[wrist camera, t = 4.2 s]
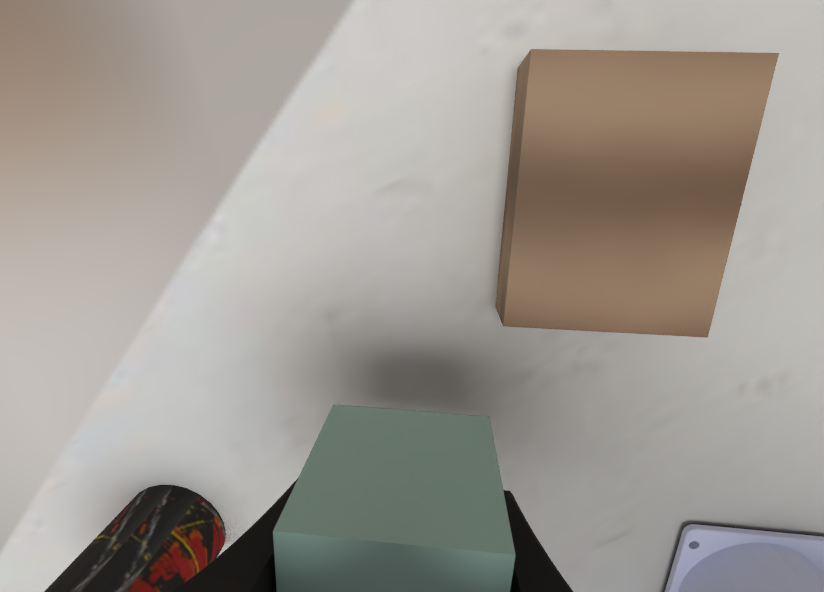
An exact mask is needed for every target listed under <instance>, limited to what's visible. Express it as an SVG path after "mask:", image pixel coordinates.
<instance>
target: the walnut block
mask: <svg viewBox="0 0 824 592" xmlns="http://www.w3.org/2000/svg"><path fill="white" fill-rule="evenodd" d="M778 54H779V53H734V52H669V51H605V50H541V49H531V50H530V52H529V53H528V54H527V56H526V57H525V59H524V60H523V62H522V63H521V64H520V66H519V67H518V71H517V82H516V93H515V104H514V114H513V125H512V136H511V146H510V157H509V168H508V179H507V189H506V200H505V211H504V222H503V232H502V243H501V254H500V264H499V275H498V286H497V297H496V309H497V312H498V314H499V317H500V319H501V322H502V324H503V326H509V327H527V328H545V329H564V330H582V331H600V332H619V333H637V334H656V335H674V336H692V337H708V334H709V330H710V326H711V322H712V318H713V314H714V310H715V306H716V302H717V298H718V294H719V290H720V286H721V282H722V278H723V274H724V270H725V266H726V262H727V258H728V254H729V250H730V246H731V242H732V238H733V234H734V230H735V226H736V222H737V218H738V214H739V210H740V206H741V202H742V198H743V194H744V190H745V186H746V182H747V178H748V174H749V170H750V166H751V162H752V158H753V154H754V150H755V146H756V142H757V138H758V134H759V130H760V126H761V122H762V118H763V114H764V110H765V106H766V102H767V98H768V94H769V90H770V86H771V82H772V78H773V74H774V70H775V66H776V62H777V58H778Z"/></svg>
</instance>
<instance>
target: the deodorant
mask: <svg viewBox="0 0 824 592" xmlns="http://www.w3.org/2000/svg"><path fill="white" fill-rule="evenodd" d="M225 535H226V534H225V529H224V523H223V521H222V519H221V517H220V515H219V513H218V512H217V511H216V510H215V508H214V507H213V506H212V505H211V504H210V503H209V502H208V501H207V500H205V499H204V498H203V497H201V496H200V495H198V494H196V493H194V492H192V491H190V490H188V489H185V488H181V487H177V486H172V485H159V486H154V487H149V488H147V489H145V490H143V491H142V492H140V493H139V494H138V495H137V496H136V497H135V498H134V499H133V500H132V501H131V502H130V503H129V504H128V505H127V506H126V507H125V508H124V509H123V510H122V511H121V512H120V513H119V514H118V515H117V517H116V518H115V519H114V520H113V521H112V522H111V523H110V524H109V525H108V526H107V527H106V528H105V529H104V530H103V531H102V532H101V533H100V534H99V535H98V536H97V537H96V538H95V539H94V540H93V542H92V543H91V544H90V545H89V546H88V547H87V548H86V549H85V550H84V551H83V552H82V553H81V554H80V555H79V556H78V557H77V558H76V559H75V560H74V561H73V562H72V563H71V564H70V566H69V567H68V568H67V569H66V570H65V571H64V572H63V573H62V574H61V575H60V576H59V577H58V578H57V579H56V580H55V581H54V582H53V583H52V584H51V585H50V586H49V587H48V588H47V590H46V591H45V592H172V591H174V590H175V589H177V588H178V587H179V586H181V585H182V584H184V583H185V582H186V581H188V580H189V579H190V578H192V577H193V576H194V575H196V574H197V573H198V572H200V571H201V570H202V569H203V568H205V567H206V566H207V565H208V564H210V563H211V562H212V561H213V560H215V559H216V558H217V556H218V554H219V553H220V551H221V549H222V547H223V545H224V541H225Z"/></svg>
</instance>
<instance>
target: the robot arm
mask: <svg viewBox="0 0 824 592" xmlns="http://www.w3.org/2000/svg"><path fill="white" fill-rule="evenodd" d="M297 480H298V479H297ZM297 480H296V481H295V482H294V483H293V484H292V485H291V486H290V488H289V489H288V490H287V491H286V492H285V493H284V494H283V495H282V496H281V497H280V498H279V499H278V500H277V502H276V503H275V504H274V505H273V506H272V507H271V508H270V509H269V510H268V511H267V512H266V513H265V514H264V515H263V516H262V517H261V518H260V519H259V520H258V521H257V522H256V523H255V524H254V525H253V526H252V527H251V528H250V529H248V530H247V531H246V532H245V533H244V534H243V535H242V536H241V537H240V538H239V539H238V540H236V541H235V542H234V543H233V544H232V545H231V546H230V547H229V548H228V549H227V550H225V551H224V552H223V553H222V554H221V555H219V556H218V557H217V558H216V559H215V560H213V561H212V562H211V563H210V564H208V565H207V566H206V567H205V568H203V569H202V570H201V571H200V572H198V573H197V574H196V575H194V576H193V577H192V578H190V579H189V580H188V581H186V582H185V583H184V584H182V585H181V586H179V587H178V588H177V589H175V590H174V591H172V592H277V589H276V573H275V557H274V542H273V530H274V528H275V526H276V524H277V522H278V519H279V517H280V515H281V513H282V511H283V509H284V507H285V505H286V503H287V501H288V499H289V497H290V494H291V492H292V490H293V488H294V486H295V484H296V482H297ZM503 491H504V497H505V502H506V507H507V513H508V518H509V523H510V528H511V534H512V539H513V544H514V549H515V562H514V569H513V576H512V582H511V589H510V592H573V591H572V589H571V588H570V587H569V585H568V584H567V582H566V581H565V580H564V578H563V577H562V575H561V574H560V573H559V571H558V570H557V568H556V567H555V565H554V564H553V562H552V561H551V560H550V558H549V557H548V555H547V553H546V552H545V550H544V549H543V547H542V546H541V544H540V542H539V541H538V539H537V538H536V536H535V534H534V533H533V531H532V529H531V528H530V526H529V524H528V522H527V521H526V519H525V517H524V515H523V513H522V512H521V510H520V508H519V506H518V504H517V502H516V500H515V498H514V496H513V494H512V493H511V492H510V491H505V490H503ZM692 541H693V542H692ZM690 542H691V543H690ZM665 592H824V537H822V536H811V535H801V534H790V533H780V532H770V531H759V530H749V529H739V528H728V527H718V526H708V525H697V524H690V525H688V526H686V527H685V528H684V529H683V531H682V535H681V538H680V542H679V545H678V548H677V552H676V555H675V559H674V562H673V565H672V569H671V572H670V575H669V579H668V582H667V586H666V589H665Z"/></svg>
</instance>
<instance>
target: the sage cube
mask: <svg viewBox="0 0 824 592" xmlns="http://www.w3.org/2000/svg"><path fill="white" fill-rule="evenodd" d="M273 542H274V557H275V573H276V589H277V592H510V589H511V582H512V576H513V569H514V562H515V549H514V544H513V539H512V534H511V528H510V523H509V518H508V513H507V507H506V502H505V497H504V491H503V486H502V481H501V476H500V470H499V465H498V460H497V455H496V449H495V444H494V439H493V434H492V428H491V423H490V418H489V417H487V416H474V415H461V414H449V413H436V412H423V411H411V410H398V409H385V408H372V407H360V406H347V405H333V407H332V409H331V411H330V413H329V415H328V417H327V419H326V422H325V424H324V426H323V428H322V430H321V432H320V434H319V436H318V438H317V440H316V442H315V444H314V447H313V449H312V451H311V453H310V455H309V457H308V459H307V461H306V463H305V465H304V467H303V469H302V472H301V474H300V476H299V478H298V480H297V482H296V484H295V486H294V488H293V490H292V492H291V494H290V497H289V499H288V501H287V503H286V505H285V507H284V509H283V511H282V513H281V515H280V517H279V519H278V522H277V524H276V526H275V528H274V530H273Z"/></svg>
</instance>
